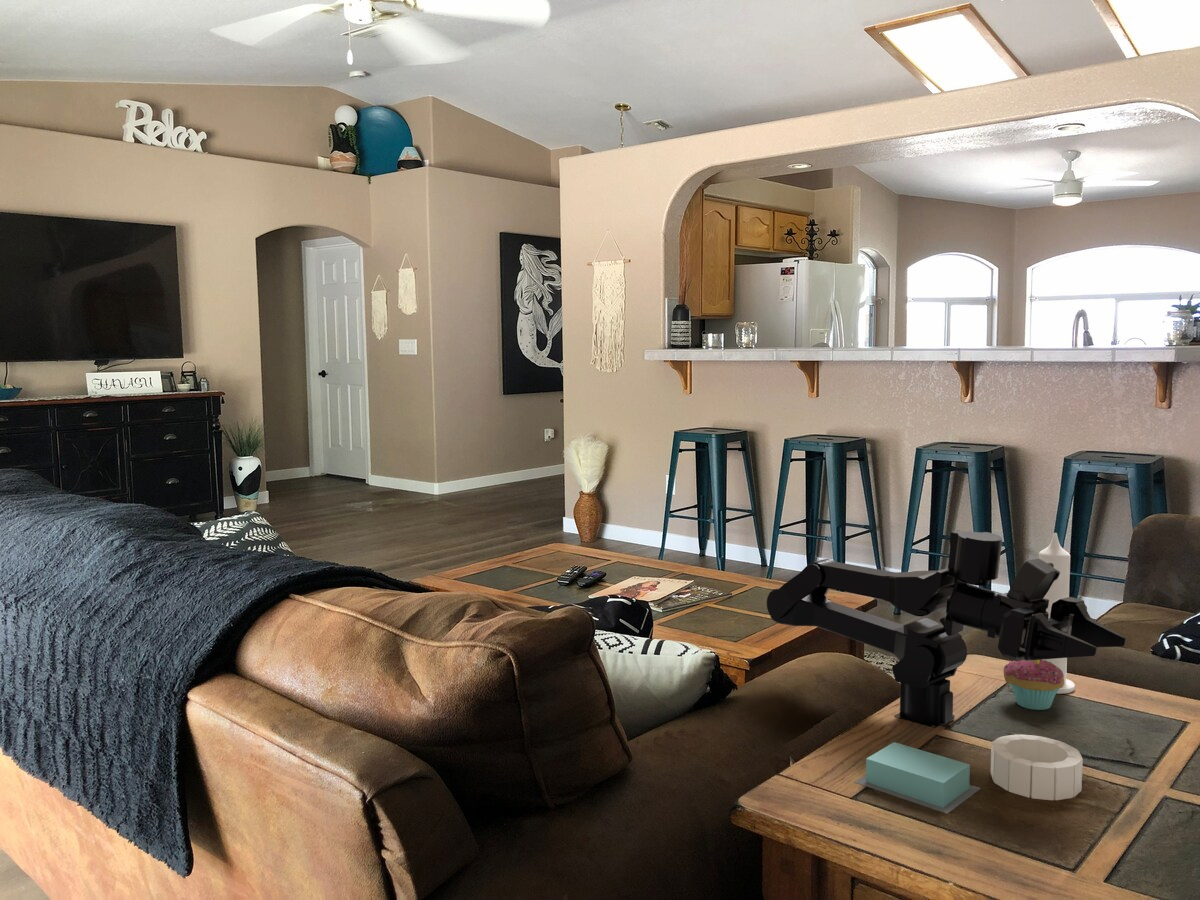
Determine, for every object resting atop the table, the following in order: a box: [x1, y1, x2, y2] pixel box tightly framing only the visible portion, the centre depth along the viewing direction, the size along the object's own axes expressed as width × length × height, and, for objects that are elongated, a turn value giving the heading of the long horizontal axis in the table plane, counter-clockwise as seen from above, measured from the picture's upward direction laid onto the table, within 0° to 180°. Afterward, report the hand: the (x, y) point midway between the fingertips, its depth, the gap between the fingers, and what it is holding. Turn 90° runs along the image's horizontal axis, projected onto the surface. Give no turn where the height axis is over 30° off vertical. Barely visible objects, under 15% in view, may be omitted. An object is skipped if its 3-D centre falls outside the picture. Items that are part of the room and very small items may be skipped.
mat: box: [854, 774, 982, 815], centre depth 118 cm, size 12×9×1 cm
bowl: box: [990, 733, 1084, 801], centre depth 118 cm, size 10×10×4 cm
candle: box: [1038, 532, 1076, 694], centre depth 152 cm, size 7×7×25 cm
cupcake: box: [1003, 659, 1064, 711], centre depth 145 cm, size 9×8×12 cm
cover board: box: [865, 741, 971, 808], centre depth 118 cm, size 10×7×3 cm
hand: (1111, 646), depth 120 cm, fingers open, 9 cm apart
